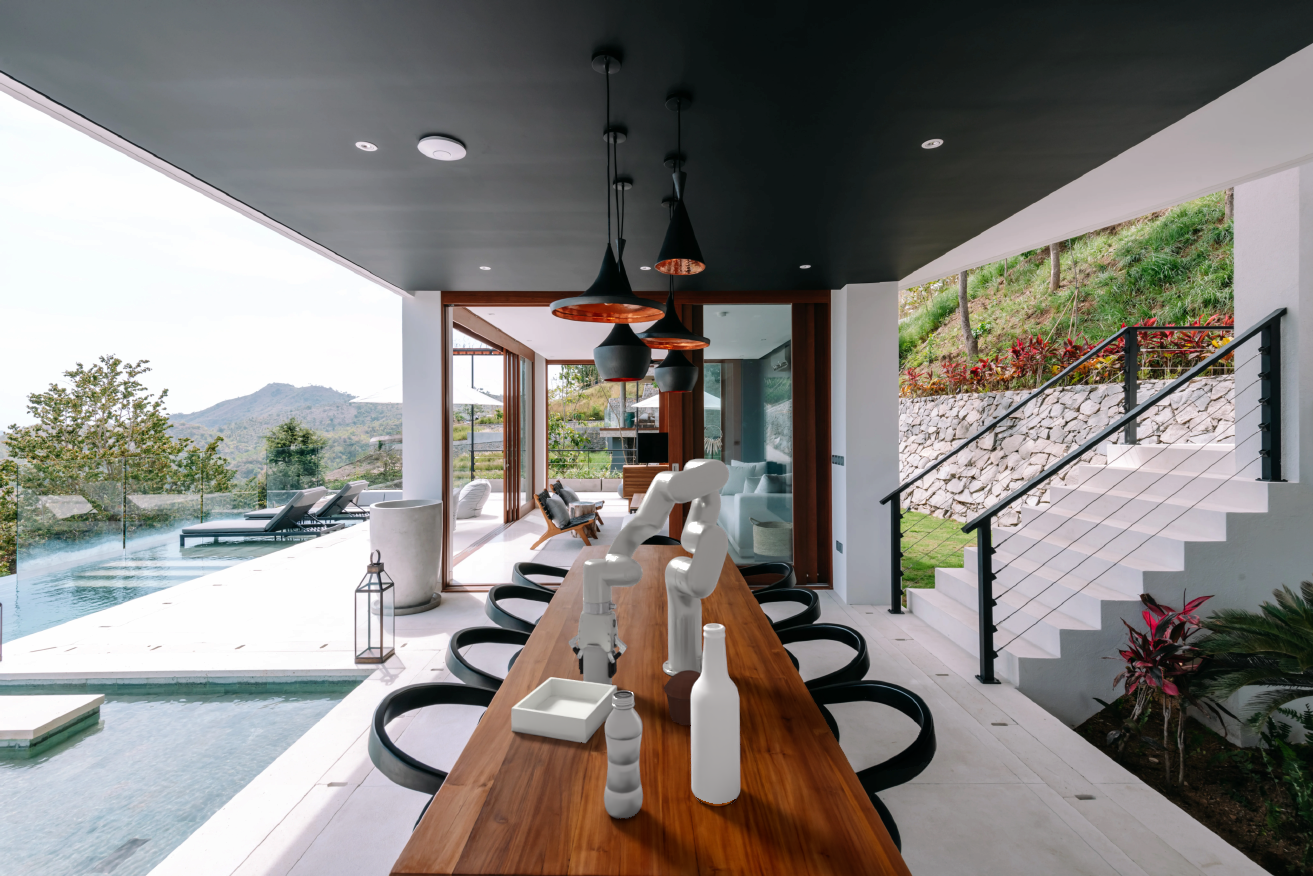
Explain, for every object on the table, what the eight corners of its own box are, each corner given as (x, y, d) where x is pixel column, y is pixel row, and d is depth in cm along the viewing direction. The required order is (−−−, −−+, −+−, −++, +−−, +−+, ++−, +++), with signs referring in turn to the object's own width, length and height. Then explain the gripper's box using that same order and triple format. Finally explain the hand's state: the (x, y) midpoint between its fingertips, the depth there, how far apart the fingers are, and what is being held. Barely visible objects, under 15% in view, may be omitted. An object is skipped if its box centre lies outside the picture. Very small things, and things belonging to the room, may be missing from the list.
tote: (616, 706, 137) (616, 685, 137) (585, 743, 120) (585, 719, 120) (550, 697, 142) (550, 677, 143) (511, 731, 125) (511, 708, 125)
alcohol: (705, 813, 96) (704, 636, 97) (683, 785, 104) (681, 622, 105) (749, 800, 100) (748, 630, 100) (724, 774, 108) (723, 616, 109)
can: (607, 694, 144) (607, 646, 144) (579, 692, 145) (579, 645, 146) (615, 682, 151) (615, 637, 151) (588, 680, 153) (588, 635, 153)
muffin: (688, 701, 140) (687, 660, 140) (723, 716, 132) (722, 672, 132) (653, 717, 131) (653, 674, 131) (689, 734, 123) (688, 688, 124)
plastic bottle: (604, 801, 100) (603, 687, 100) (642, 799, 100) (641, 686, 101) (603, 826, 93) (603, 704, 94) (644, 823, 94) (643, 702, 94)
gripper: (633, 605, 150) (633, 672, 149) (573, 600, 155) (573, 665, 155) (623, 613, 142) (623, 684, 142) (561, 608, 148) (561, 676, 147)
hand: (597, 674), depth 148 cm, fingers closed on can, 7 cm apart
